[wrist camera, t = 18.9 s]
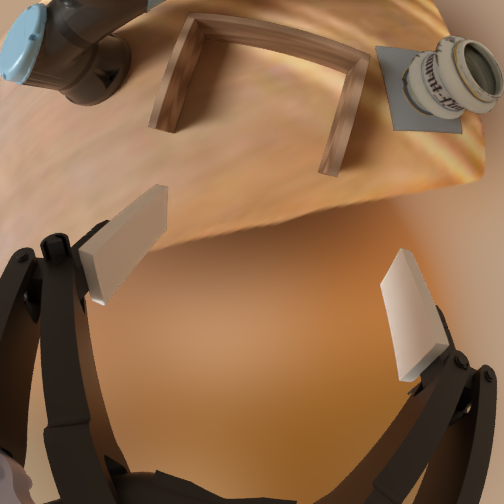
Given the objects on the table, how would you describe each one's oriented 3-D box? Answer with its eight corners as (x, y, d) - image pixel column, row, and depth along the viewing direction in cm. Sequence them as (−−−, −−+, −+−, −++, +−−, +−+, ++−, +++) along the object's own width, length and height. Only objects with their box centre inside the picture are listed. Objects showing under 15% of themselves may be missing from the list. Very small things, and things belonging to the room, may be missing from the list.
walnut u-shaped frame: (325, 174, 41) (337, 177, 34) (167, 132, 40) (147, 127, 33) (354, 71, 35) (370, 55, 28) (201, 32, 34) (189, 12, 27)
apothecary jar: (389, 55, 33) (441, 16, 16) (442, 66, 32) (501, 43, 15) (400, 118, 37) (465, 103, 19) (452, 125, 35) (519, 121, 18)
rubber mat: (374, 46, 33) (375, 45, 32) (443, 57, 31) (445, 56, 31) (393, 130, 38) (394, 130, 37) (460, 133, 36) (462, 133, 36)
